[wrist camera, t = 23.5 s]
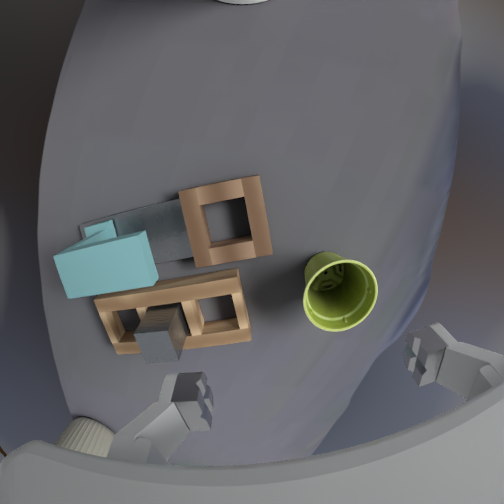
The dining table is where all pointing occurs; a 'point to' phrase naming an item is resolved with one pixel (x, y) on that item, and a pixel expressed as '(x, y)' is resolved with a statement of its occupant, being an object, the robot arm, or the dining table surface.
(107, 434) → the canister
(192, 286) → the rack
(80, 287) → the plate
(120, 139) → the dining table surface
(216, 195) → the socket frame
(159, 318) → the grey rectangular block
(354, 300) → the plant pot
